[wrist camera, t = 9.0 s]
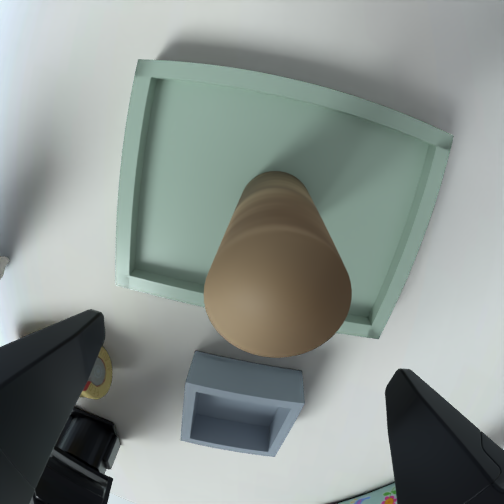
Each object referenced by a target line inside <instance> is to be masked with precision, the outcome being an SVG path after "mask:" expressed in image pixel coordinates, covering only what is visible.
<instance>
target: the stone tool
mask: <svg viewBox="0 0 504 504" xmlns="http://www.w3.org/2000/svg"><path fill="white" fill-rule="evenodd" d="M9 262H10V260H9V259H8V258H7V257H4V256H0V279H1V278H2V276H3V274H4V270H5V267H6V265H7V264H8V263H9Z"/></svg>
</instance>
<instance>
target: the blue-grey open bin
mask: <svg viewBox="0 0 504 504" xmlns="http://www.w3.org/2000/svg"><path fill="white" fill-rule="evenodd" d="M304 404H305V401H304V388H303V376H302V371H299V370H293V369H286V368H280V367H274V366H268V365H262V364H257V363H251V362H246V361H241V360H236V359H231V358H226V357H221V356H217V355H212V354H208V353H203V352H199V351H195V354H194V357H193V360H192V363H191V366H190V370H189V373H188V376H187V379H186V383H185V393H184V404H183V416H182V428H181V441H185V442H190V443H194V444H198V445H203V446H208V447H213V448H218V449H223V450H229V451H235V452H241V453H248V454H255V455H263V456H272V457H275V455H276V454H277V452H278V450H279V449H280V447H281V445H282V443H283V442H284V440H285V438H286V437H287V435H288V433H289V431H290V430H291V428H292V426H293V424H294V422H295V421H296V419H297V417H298V415H299V413H300V411H301V410H302V408H303V406H304Z"/></svg>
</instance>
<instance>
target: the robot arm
mask: <svg viewBox="0 0 504 504" xmlns="http://www.w3.org/2000/svg"><path fill="white" fill-rule="evenodd" d="M104 340H105V327H104V316H103V314H102V313H101V312H99V311H95V310H92V309H89V310H87V311H84V312H82V313H80V314H77V315H75V316H72V317H70V318H68V319H65V320H63V321H60V322H58V323H56V324H53V325H51V326H49V327H46V328H44V329H42V330H39V331H37V332H34V333H32V334H30V335H27V336H25V337H23V338H20V339H18V340H16V341H13V342H11V343H9V344H6V345H4V346H2V347H0V504H107V502H108V498H109V493H110V489H111V485H112V481H113V478H111V477H108V476H106V475H104V474H105V471H106V469H111V468H112V465H113V463H114V460H115V458H116V455H117V453H118V450H119V448H120V442H119V438H118V436H117V434H116V430H115V425H114V424H113V423H112V422H109V421H107V420H104V419H101V418H99V417H96V416H94V415H91V414H89V413H86V412H84V411H81V410H79V409H77V408H74V406H75V404H76V402H77V400H78V399H79V397H80V395H81V393H82V391H83V389H84V387H85V385H86V383H87V381H88V379H89V377H90V374H91V372H92V369H93V367H94V364H95V362H96V359H97V357H98V355H99V352H100V350H101V347H102V345H103V343H104ZM385 398H386V411H387V427H388V437H389V444H390V450H391V457H392V464H393V472H394V480H395V488H396V498H397V504H504V450H503V449H502V448H500V447H499V446H498V445H497V444H495V443H494V442H493V441H492V440H491V439H490V438H488V437H487V436H486V435H485V434H484V433H483V432H480V430H479V429H478V428H477V427H476V426H475V425H474V424H473V423H471V422H470V421H469V420H468V419H467V418H466V417H465V416H463V415H462V414H461V413H460V412H459V411H458V410H457V409H455V408H454V407H453V406H452V405H451V404H450V403H448V402H447V401H446V400H445V399H444V398H443V397H442V396H440V395H439V394H438V393H437V392H436V391H435V390H434V389H432V388H431V387H430V386H429V385H428V384H427V383H425V382H424V381H423V380H422V379H421V378H420V377H419V376H417V375H416V374H415V373H414V372H413V371H412V370H410V369H398V370H397V371H396V372H395V374H394V375H393V377H392V379H391V380H390V382H389V383H388V385H387V387H386V390H385Z"/></svg>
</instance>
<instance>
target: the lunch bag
mask: <svg viewBox="0 0 504 504" xmlns="http://www.w3.org/2000/svg"><path fill="white" fill-rule="evenodd" d="M337 504H397V498H396V488H395V483H393V484H391V485H388V486H385V487H383V488H380V489H378V490H376V491H373V492H370V493H368V494H365V495H362V496H359V497H356V498H353V499H350V500H347V501H344V502H340V503H337Z"/></svg>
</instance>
